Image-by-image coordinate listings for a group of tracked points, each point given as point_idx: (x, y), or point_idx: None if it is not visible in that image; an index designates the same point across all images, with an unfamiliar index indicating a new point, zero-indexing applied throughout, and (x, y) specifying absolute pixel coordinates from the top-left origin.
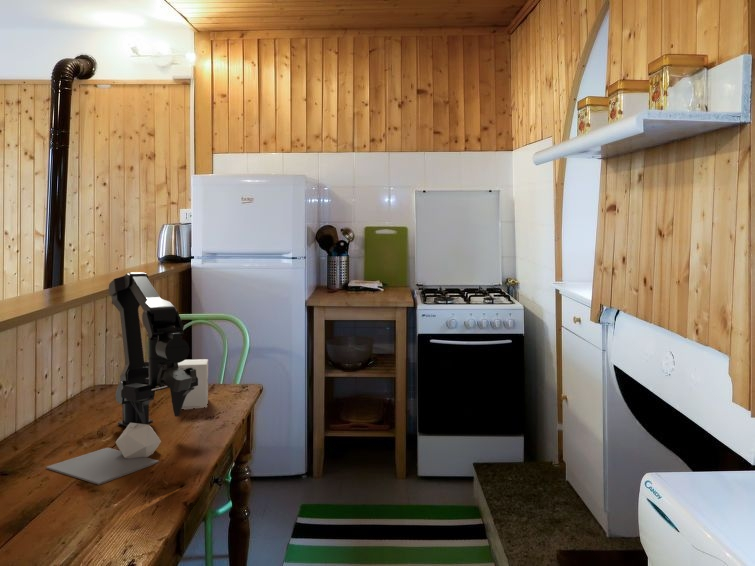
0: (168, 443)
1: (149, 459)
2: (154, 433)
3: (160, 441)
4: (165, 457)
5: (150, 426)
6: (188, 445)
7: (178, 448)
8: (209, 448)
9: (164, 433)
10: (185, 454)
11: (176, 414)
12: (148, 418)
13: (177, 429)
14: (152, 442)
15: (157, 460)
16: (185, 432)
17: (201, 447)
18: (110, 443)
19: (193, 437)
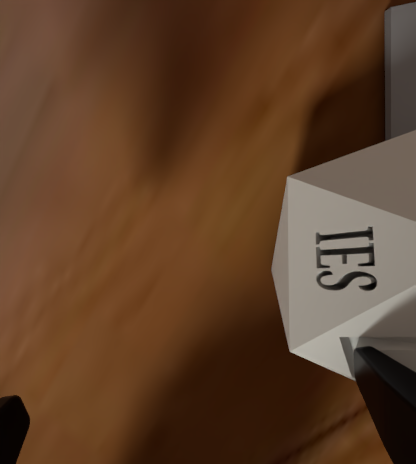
0: (153, 286)
1: (406, 86)
2: (369, 198)
3: (296, 174)
4: (299, 78)
5: (343, 321)
6: (88, 175)
7: (157, 171)
8: (11, 9)
9: (93, 421)
10: (186, 27)
11: (12, 420)
12: (401, 391)
13: None
14: (388, 149)
15: (392, 24)
16: (6, 370)
17: (44, 75)
18: (330, 457)
19: (5, 276)
